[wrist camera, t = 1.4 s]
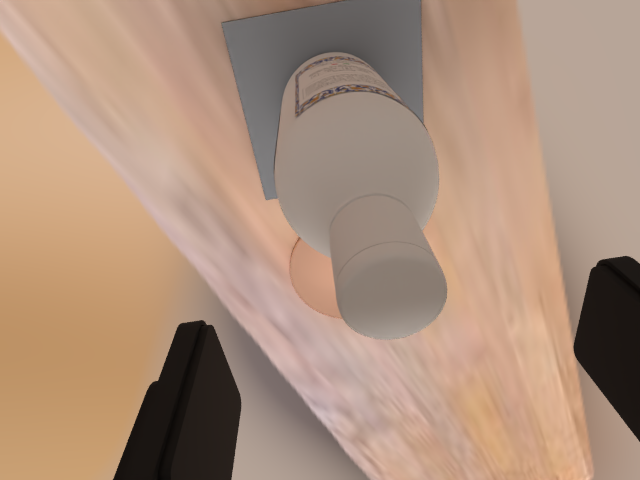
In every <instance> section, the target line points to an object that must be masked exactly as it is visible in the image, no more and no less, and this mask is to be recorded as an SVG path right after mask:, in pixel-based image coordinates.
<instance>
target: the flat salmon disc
mask: <svg viewBox="0 0 640 480" xmlns="http://www.w3.org/2000/svg"><path fill="white" fill-rule="evenodd" d="M290 275H291V281H292V284H293V287H294V289H295V291H296V293H297V294H298V295H299V297H300V298H301V299H302V300H303V301H304V302H305V303H306V304H307V305H308V306H309V307H311V308H312V309H314V310H316V311H317V312H320V313H322V314H324V315H327V316H330V317H335V318H340V319H343V318H342V316H341V314H340V312H339V309H338V305H337V300H336V292H335V285H334V277H333V269H332V261H331V258H329V257H327V256H325V255H323V254H321V253H319V252H318V251H316V250H315V249H313V248H312V247H310V246H309V245H308V244H307V243H305V242H304V241H303V240H302V239H301V238H299V239H298V241H297V243H296V245H295V247H294V249H293V252H292V255H291V261H290Z"/></svg>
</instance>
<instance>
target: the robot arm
mask: <svg viewBox="0 0 640 480" xmlns="http://www.w3.org/2000/svg"><path fill="white" fill-rule="evenodd" d="M574 353H575V356H576V358H577V360H578V361H579V363H580V364H581V365H582V367H583V368H584V369H585V371H586V372H587V373H588V375H589V376H590V377H591V379H592V380H593V381H594V382H595V384H596V385H597V386H598V388H599V389H600V390H601V392H602V393H603V394H604V396H605V397H606V398H607V399H608V401H609V402H610V403H611V405H612V406H613V407H614V409H615V410H616V411H617V412H618V413H619V415H620V416H621V418H622V419H623V420H624V422H625V423H626V424H627V426H628V427H629V428H630V430H631V431H632V432H633V433H634V435H635V436H636V437H637V439H638V440H639V441H640V264H639V263H638V262H637V261H636V260H634V259H633V258H631V257H628V256H623V257H616V258H609V259H603V260H600V261H599V262H598V263H597V265H596V267H593V268H592V269H591V272H590V276H589V280H588V285H587V289H586V293H585V298H584V302H583V306H582V311H581V315H580V320H579V324H578V328H577V333H576V337H575V342H574ZM240 412H241V397H240V393H239V391H238V388H237V385H236V383H235V380H234V378H233V375H232V373H231V370H230V368H229V365H228V362H227V360H226V357H225V355H224V352H223V350H222V347H221V344H220V342H219V339H218V337H217V334H216V332H215V329H214V327H213V326H212V325H206V323H205V322H204V321H203V320H200V321H194V322H187V323H181V324H180V325H179V326H178V328H177V330H176V333H175V336H174V339H173V341H172V344H171V347H170V349H169V352H168V356H167V358H166V361H165V363H164V366H163V369H162V372H161V374H160V377H159V380H158V381H155V382H153V383H152V384H151V385H150V386H149V388H148V390H147V392H146V395H145V397H144V400H143V403H142V405H141V408H140V410H139V413H138V416H137V418H136V421H135V424H134V426H133V429H132V431H131V434H130V437H129V439H128V442H127V445H126V447H125V450H124V452H123V455H122V458H121V460H120V463H119V466H118V468H117V471H116V474H115V476H114V479H113V480H231V477H232V470H233V463H234V456H235V449H236V441H237V434H238V427H239V419H240Z"/></svg>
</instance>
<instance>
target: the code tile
mask: <svg viewBox="0 0 640 480" xmlns="http://www.w3.org/2000/svg"><path fill="white" fill-rule="evenodd" d="M221 24H222V28H223V32H224V36H225V40H226V44H227V48H228V52H229V55H230V59H231V63H232V67H233V71H234V75H235V79H236V83H237V87H238V91H239V95H240V99H241V103H242V107H243V111H244V115H245V119H246V123H247V127H248V131H249V135H250V139H251V143H252V147H253V151H254V155H255V159H256V163H257V167H258V171H259V175H260V179H261V183H262V187H263V191H264V195H265V199H266V200H270V199H276V198H278V197H277V193H276V187H275V182H274V156H275V148H276V140H277V132H278V124H279V116H280V114H281V111H280V108H281V105H282V98H283V94H284V90H285V88H286V85H287V83H288V81H289V79H290V78H291V76H292V75H293V73H294V72H295V71H296V70H297V69H298V68H299V67H300V66H301V65H302V64H303V63H305V62H306V61H307V60H309V59H311V58H313V57H315V56H317V55H320V54H324V53H329V52H342V53H347V54H351V55H354V56H356V57H358V58H360V59H361V60H363V61H364V62H366V63H367V64H369V65H370V66H371V67H372V68H373V69H374V70H375V71H376V72H377V73H378V74H379V75H380V76H381V77H382V78H383V79H384V80H385V82H386V83H387V84H388V85H389V86H390V87H391V88H392V89H393V90H394V91H395V93H396V94H397V95H398V96H399V97H400V98H401V99H402V100H403V101H404V102H405V103H406V105H407V106H408V107H409V108H410V109H411V110H412V111H413V112H414V113H415V114H416V115H417V117H418V118H419V119H420V120H421V121H422V123H423V83H422V34H421V0H345V1H339V2H334V3H328V4H323V5H317V6H312V7H306V8H301V9H295V10H290V11H284V12H279V13H273V14H268V15H262V16H257V17H251V18H246V19H240V20H235V21H229V22H224V23H221Z"/></svg>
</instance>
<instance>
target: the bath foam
mask: <svg viewBox="0 0 640 480" xmlns="http://www.w3.org/2000/svg"><path fill="white" fill-rule="evenodd" d="M280 111H281V114H280V116H279V124H278V132H277V140H276V148H275V156H274V182H275V187H276V193H277V197H278V200H279V203H280V206H281V209H282V211H283V213H284V215H285V217H286V219H287V221H288V222H289V224H290V226H291V227H292V228H293V230H294V231H295V232H296V233H297V235H298V236H299V237H300V238H301V239H302V240H303V241H304V242H305V243H307V244H308V245H309V246H310V247H312V248H313V249H315V250H316V251H318V252H319V253H321V254H323V255H325V256H327V257H329V258H331V261H332V269H333V277H334V285H335V292H336V300H337V305H338V309H339V312H340V314H341V316H342V318H343V320H344V321H345V322H346V324H347V325H348V326H349V327H350V328H352V329H353V330H354V331H356V332H357V333H359V334H361V335H364V336H367V337H370V338H374V339H381V340H391V339H399V338H404V337H407V336H410V335H413V334H415V333H417V332H419V331H421V330H423V329H424V328H426V327H427V326H428V325H430V324H431V323H432V322H433V321H434V320H435V319H436V318H437V316H438V315H439V314H440V312H441V311H442V309H443V307H444V305H445V302H446V298H447V283H446V279H445V276H444V273H443V271H442V269H441V267H440V265H439V263H438V261H437V259H436V257H435V255H434V253H433V251H432V249H431V247H430V246H429V244H428V242H427V240H426V238H425V236H424V234H423V232H422V230H423V229H424V227H425V226H426V224H427V222H428V220H429V219H430V217H431V214H432V212H433V209H434V206H435V203H436V200H437V195H438V188H439V167H438V160H437V156H436V152H435V148H434V146H433V143H432V140H431V138H430V136H429V133H428V131H427V129H426V128H425V126H424V124H423V123H422V121H421V120H420V119H419V118H418V117H417V115H416V114H415V113H414V112H413V111H412V110H411V109H410V108H409V107H408V106H407V105H406V103H405V102H404V101H403V100H402V99H401V98H400V97H399V96H398V95H397V94H396V93H395V91H394V90H393V89H392V88H391V87H390V86H389V85H388V84H387V83H386V82H385V80H384V79H383V78H382V77H381V76H380V75H379V74H378V73H377V72H376V71H375V70H374V69H373V68H372V67H371V66H370V65H369V64H367V63H366V62H364V61H363V60H361V59H360V58H358V57H356V56H354V55H351V54H347V53H342V52H329V53H324V54H320V55H317V56H315V57H313V58H311V59H309V60H307V61H306V62H305V63H303V64H302V65H301V66H300V67H299V68H298V69H297V70H296V71H295V72H294V73H293V75H292V76H291V78H290V79H289V81H288V83H287V85H286V88H285V90H284V94H283V98H282V105H281V108H280Z"/></svg>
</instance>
